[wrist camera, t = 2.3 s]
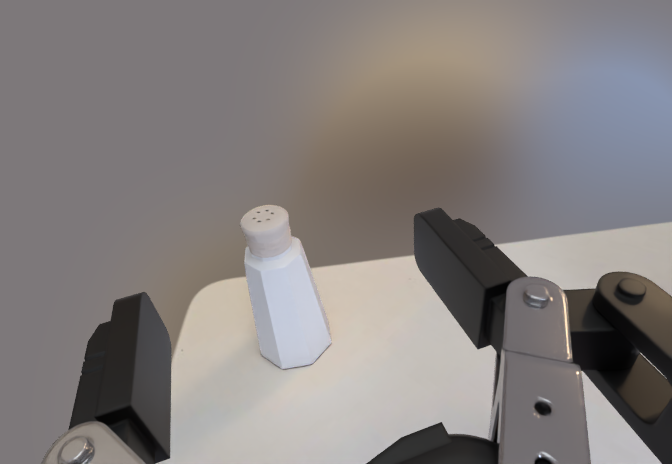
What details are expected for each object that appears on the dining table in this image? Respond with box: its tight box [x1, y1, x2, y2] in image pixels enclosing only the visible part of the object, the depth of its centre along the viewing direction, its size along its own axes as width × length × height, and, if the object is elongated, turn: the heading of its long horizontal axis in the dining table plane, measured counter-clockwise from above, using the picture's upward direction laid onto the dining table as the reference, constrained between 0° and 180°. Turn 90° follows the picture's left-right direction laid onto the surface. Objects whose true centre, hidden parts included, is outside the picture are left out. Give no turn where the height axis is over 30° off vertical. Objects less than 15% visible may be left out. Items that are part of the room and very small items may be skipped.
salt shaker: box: [240, 205, 331, 369], centre depth 27 cm, size 5×5×11 cm
